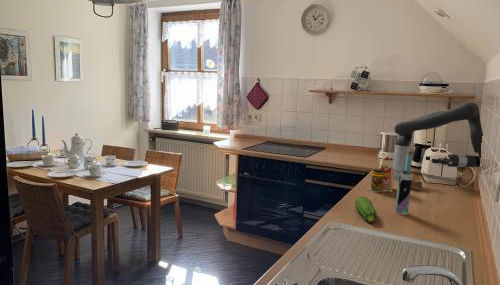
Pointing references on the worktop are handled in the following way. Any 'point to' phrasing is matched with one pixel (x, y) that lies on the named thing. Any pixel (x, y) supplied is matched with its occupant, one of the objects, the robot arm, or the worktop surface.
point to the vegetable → (365, 208)
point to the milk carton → (386, 173)
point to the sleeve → (397, 174)
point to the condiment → (377, 180)
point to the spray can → (403, 193)
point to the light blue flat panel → (408, 164)
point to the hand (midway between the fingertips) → (429, 159)
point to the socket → (416, 185)
